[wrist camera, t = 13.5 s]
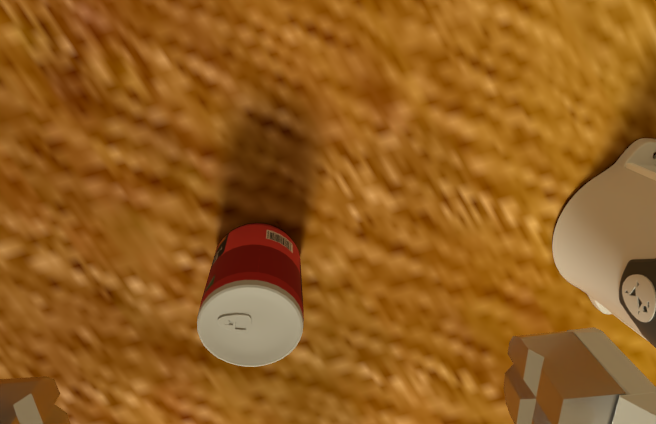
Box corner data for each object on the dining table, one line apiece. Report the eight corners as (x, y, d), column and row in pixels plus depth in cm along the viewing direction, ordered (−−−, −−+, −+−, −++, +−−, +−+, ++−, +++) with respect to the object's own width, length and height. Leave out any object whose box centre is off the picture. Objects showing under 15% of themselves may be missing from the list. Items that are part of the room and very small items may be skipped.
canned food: (208, 225, 44) (186, 291, 34) (295, 215, 45) (297, 277, 35) (223, 295, 48) (207, 374, 38) (304, 285, 48) (309, 361, 38)
